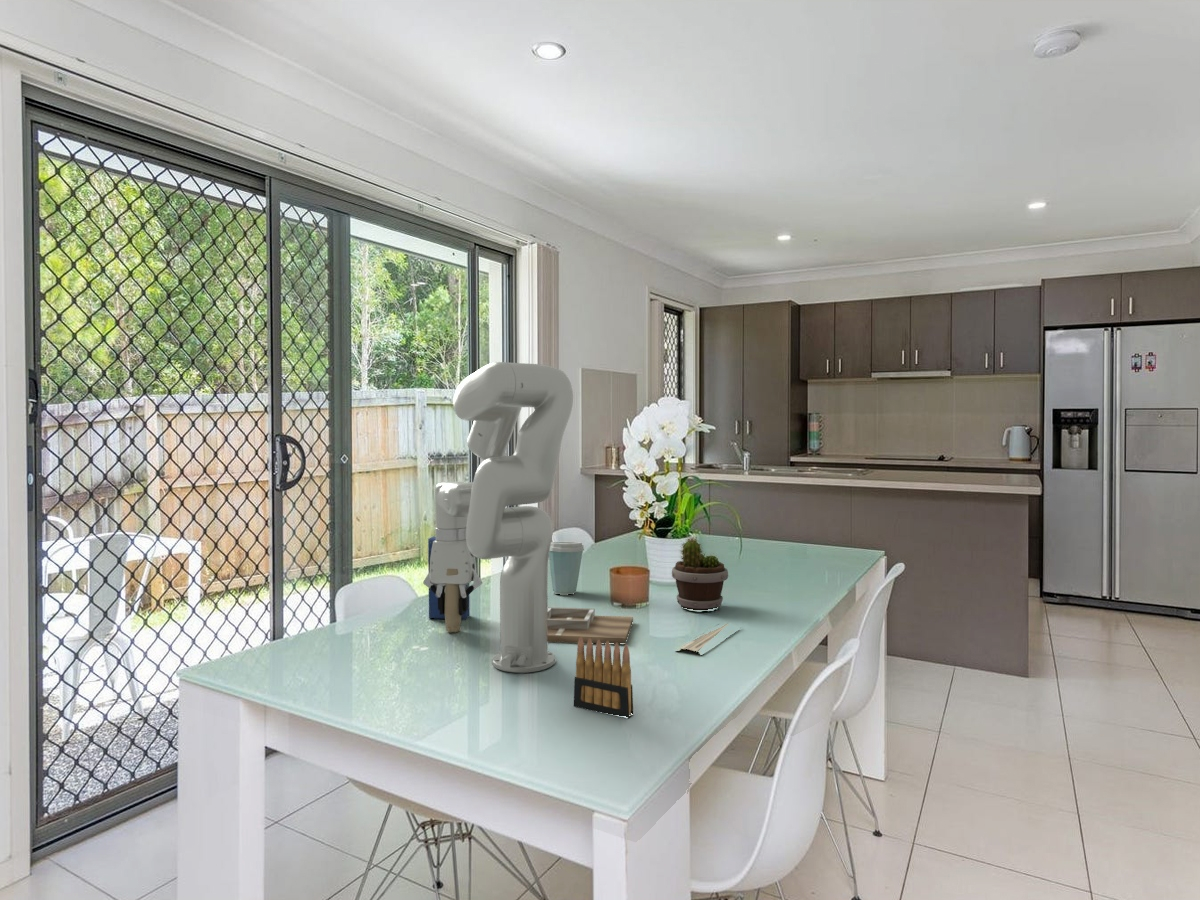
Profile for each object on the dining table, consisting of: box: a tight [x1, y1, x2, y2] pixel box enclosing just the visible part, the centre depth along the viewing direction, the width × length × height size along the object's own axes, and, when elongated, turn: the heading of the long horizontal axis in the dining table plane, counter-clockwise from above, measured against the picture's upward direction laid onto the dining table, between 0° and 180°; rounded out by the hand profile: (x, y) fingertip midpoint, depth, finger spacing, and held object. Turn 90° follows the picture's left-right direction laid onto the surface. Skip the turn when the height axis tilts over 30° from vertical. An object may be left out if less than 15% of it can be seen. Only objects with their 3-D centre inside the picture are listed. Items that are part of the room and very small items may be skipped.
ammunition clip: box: [573, 636, 634, 717], centre depth 122 cm, size 11×2×12 cm, turn 59°
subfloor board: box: [548, 606, 634, 644], centre depth 169 cm, size 18×22×4 cm
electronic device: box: [427, 536, 471, 620], centre depth 182 cm, size 10×5×20 cm, turn 84°
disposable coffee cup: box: [548, 540, 585, 596], centre depth 208 cm, size 11×11×15 cm
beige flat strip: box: [678, 622, 729, 653], centre depth 163 cm, size 24×7×2 cm, turn 149°
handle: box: [444, 569, 462, 634], centre depth 169 cm, size 5×6×15 cm
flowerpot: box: [671, 534, 729, 610], centre depth 191 cm, size 14×15×20 cm
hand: (453, 612), depth 169 cm, fingers closed on handle, 4 cm apart
